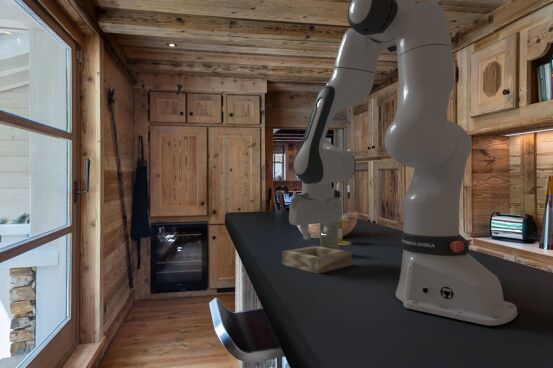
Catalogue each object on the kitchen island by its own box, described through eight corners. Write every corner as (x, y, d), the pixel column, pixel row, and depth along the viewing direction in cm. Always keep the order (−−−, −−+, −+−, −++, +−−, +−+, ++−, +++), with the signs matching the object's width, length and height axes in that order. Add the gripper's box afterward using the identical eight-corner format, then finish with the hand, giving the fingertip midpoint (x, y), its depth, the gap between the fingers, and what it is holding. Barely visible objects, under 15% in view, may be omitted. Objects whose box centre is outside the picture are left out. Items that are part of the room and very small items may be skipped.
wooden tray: (351, 265, 107) (351, 252, 107) (317, 273, 97) (317, 259, 97) (315, 257, 119) (315, 245, 119) (282, 264, 109) (282, 251, 109)
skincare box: (339, 253, 125) (339, 219, 125) (338, 256, 121) (338, 220, 121) (320, 253, 126) (320, 219, 126) (319, 255, 122) (319, 220, 122)
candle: (323, 242, 149) (323, 178, 149) (344, 241, 152) (344, 178, 152) (333, 246, 140) (333, 178, 140) (356, 245, 143) (356, 178, 143)
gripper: (299, 193, 99) (299, 243, 99) (345, 192, 112) (345, 235, 112) (284, 193, 104) (284, 240, 104) (330, 192, 117) (329, 233, 117)
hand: (316, 237), depth 108 cm, fingers open, 7 cm apart
